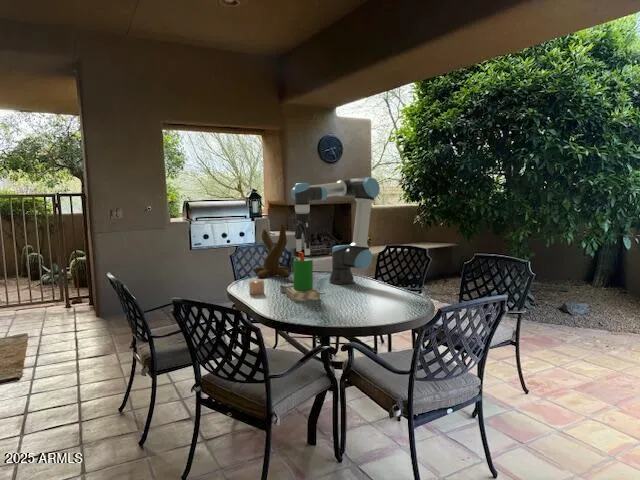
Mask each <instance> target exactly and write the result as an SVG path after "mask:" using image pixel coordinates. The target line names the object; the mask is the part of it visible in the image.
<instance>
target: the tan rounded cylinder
mask: <svg viewBox="0 0 640 480" xmlns="http://www.w3.org/2000/svg"><path fill="white" fill-rule="evenodd" d="M248 284H249V285H248V286H249V287H248V288H249V291H248V293H249V295H250V296H255V297H256V296H262V295H264V294H265V281H264V280H262V279H253V280H252V279H251V280H249V283H248Z"/></svg>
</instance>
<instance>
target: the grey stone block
mask: <svg viewBox="0 0 640 480" xmlns="http://www.w3.org/2000/svg"><path fill="white" fill-rule="evenodd" d="M289 287H294V283H291V282H290V283H286V284H281V285H280V293H283V294H286V288H289Z"/></svg>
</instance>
